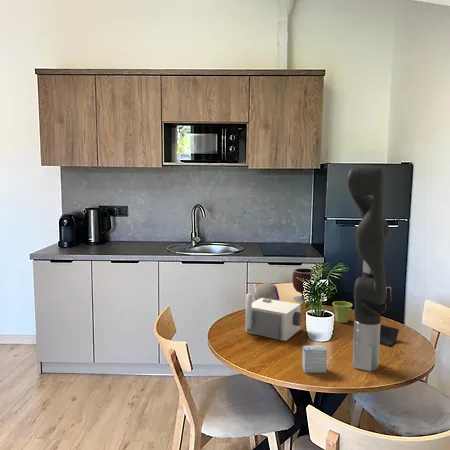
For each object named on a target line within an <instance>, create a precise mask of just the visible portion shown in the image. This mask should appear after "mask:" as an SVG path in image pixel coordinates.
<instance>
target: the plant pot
mask: <svg viewBox="0 0 450 450" xmlns="http://www.w3.org/2000/svg"><path fill="white" fill-rule="evenodd" d="M332 306H333V309H334V317H335V322H337V323H344V324H346V323H349V322H350V321H349V320H350V314H351V309H352V307H353V303H351V302H349V301H345V300H342V301H341V300H340V301H333V302H332Z"/></svg>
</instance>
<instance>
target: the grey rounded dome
mask: <svg viewBox="0 0 450 450" xmlns="http://www.w3.org/2000/svg"><path fill="white" fill-rule="evenodd" d="M254 298H255V301H256V300H258V299H260V298H268V299H272V300H278V301H280V295H279V290H278V287H277V286H276V284H274V283H271V282H264V283H261V284H260V285H258V286H257V288H256V289H255V292H254Z"/></svg>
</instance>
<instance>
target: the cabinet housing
mask: <svg viewBox="0 0 450 450" xmlns="http://www.w3.org/2000/svg"><path fill="white" fill-rule="evenodd" d="M301 305H302V303H301V304H300V303H297V302H296V303H294V302H289V301H282V300H279V301H278V300H272V299H268V298H260V299H258V300H256V299H255V301H252V309H254V310H260V311H265V312H271V313H276V314H282V320H281V339H278V338H274V337H269V336H264V335H260V334H255V333H250V332H248V333H249V334H253V335H257V336H262V337H267V338H270V339H275V340H280V341H284V342H285V341H288V340H289V339H290V338H291V337H293V336H294V335H295V334H297V333H298V332H299V331H300V330H301V323H302V321H303V314H302V312H301V307H302V306H301ZM244 307H245V313H244V314H245V315H244V321H245V322H244V324H245V325H244V329H245V330H244V332H245V333H247V328H246V305H245V306H244Z"/></svg>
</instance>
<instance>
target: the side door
mask: <svg viewBox="0 0 450 450" xmlns="http://www.w3.org/2000/svg"><path fill="white" fill-rule="evenodd" d="M245 296H246V301H245V302H246V303H245V306H246V328H247V332H250V333H249V334H252V333H255V334H254V335H257V334H260V335H259V336H261V335H264V336H263V337H266V336H269V337H268V338H271V337H274V338H273V339H275V338H278V339H277V340H280V339H281V320H282V314H276V313H271V312H265V311H260V310H254V309H252V302H253V295H252V293H247V294H246V295H245ZM247 332H246V333H247Z"/></svg>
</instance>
